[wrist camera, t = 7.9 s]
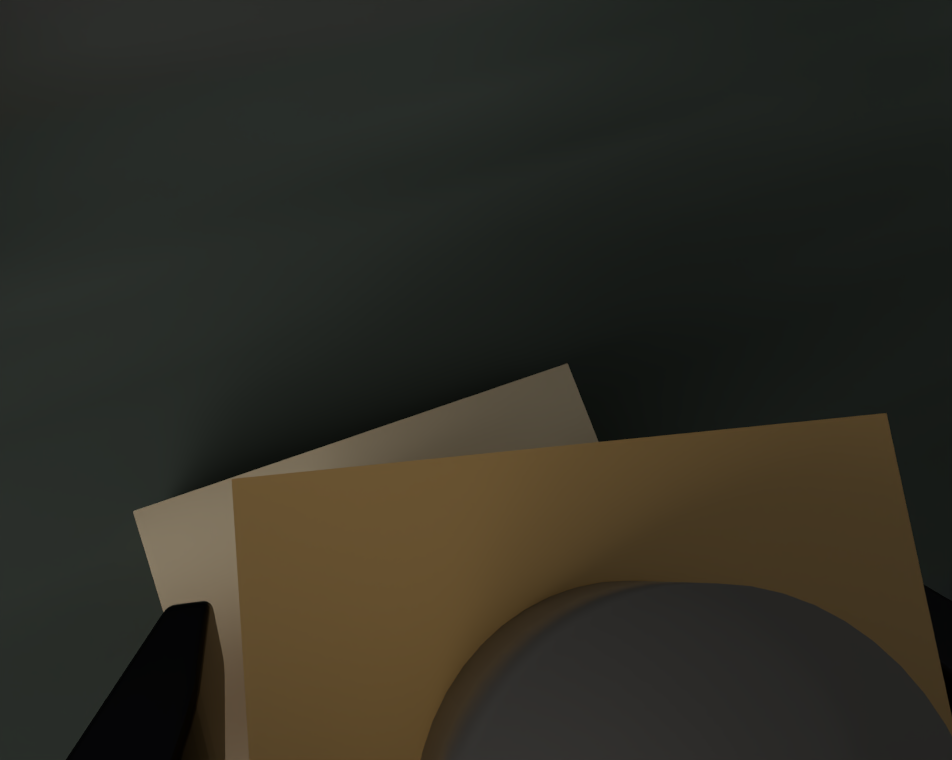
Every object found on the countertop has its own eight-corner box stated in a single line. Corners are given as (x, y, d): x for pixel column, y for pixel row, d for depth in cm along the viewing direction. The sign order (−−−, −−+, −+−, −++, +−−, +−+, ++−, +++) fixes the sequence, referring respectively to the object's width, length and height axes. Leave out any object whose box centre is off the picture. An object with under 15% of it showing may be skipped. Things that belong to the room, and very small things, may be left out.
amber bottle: (586, 773, 16) (1278, 1330, 4) (320, 819, 16) (265, 1677, 3) (551, 509, 17) (1034, 370, 5) (298, 538, 17) (197, 449, 4)
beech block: (677, 759, 20) (736, 791, 17) (292, 938, 18) (284, 1010, 15) (536, 391, 21) (567, 363, 18) (163, 520, 19) (133, 511, 16)
